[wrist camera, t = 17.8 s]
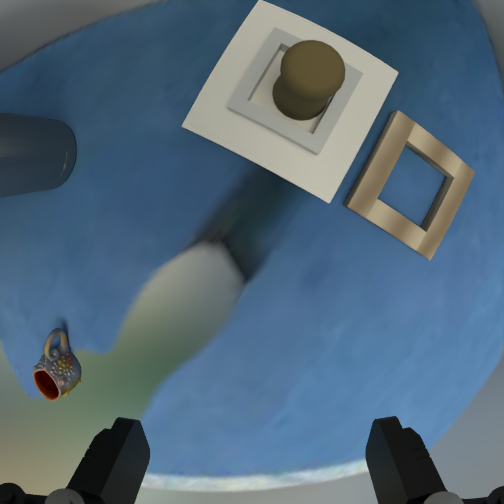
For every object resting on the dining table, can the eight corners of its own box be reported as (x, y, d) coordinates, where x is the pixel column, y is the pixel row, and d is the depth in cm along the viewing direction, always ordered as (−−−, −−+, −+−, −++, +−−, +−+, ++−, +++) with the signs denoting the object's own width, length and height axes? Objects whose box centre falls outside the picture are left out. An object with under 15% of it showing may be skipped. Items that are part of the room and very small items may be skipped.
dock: (184, 127, 34) (176, 123, 30) (259, 3, 29) (259, -10, 26) (327, 202, 35) (333, 205, 32) (394, 74, 31) (405, 67, 28)
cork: (292, 58, 30) (303, 16, 19) (338, 90, 31) (369, 60, 20) (260, 100, 31) (259, 70, 21) (308, 131, 32) (328, 116, 22)
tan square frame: (342, 204, 35) (347, 206, 33) (391, 112, 32) (398, 110, 30) (423, 256, 36) (430, 260, 34) (466, 171, 33) (475, 172, 31)
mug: (83, 387, 44) (65, 412, 37) (49, 369, 43) (29, 391, 37) (89, 330, 41) (67, 353, 34) (51, 311, 40) (26, 330, 34)
